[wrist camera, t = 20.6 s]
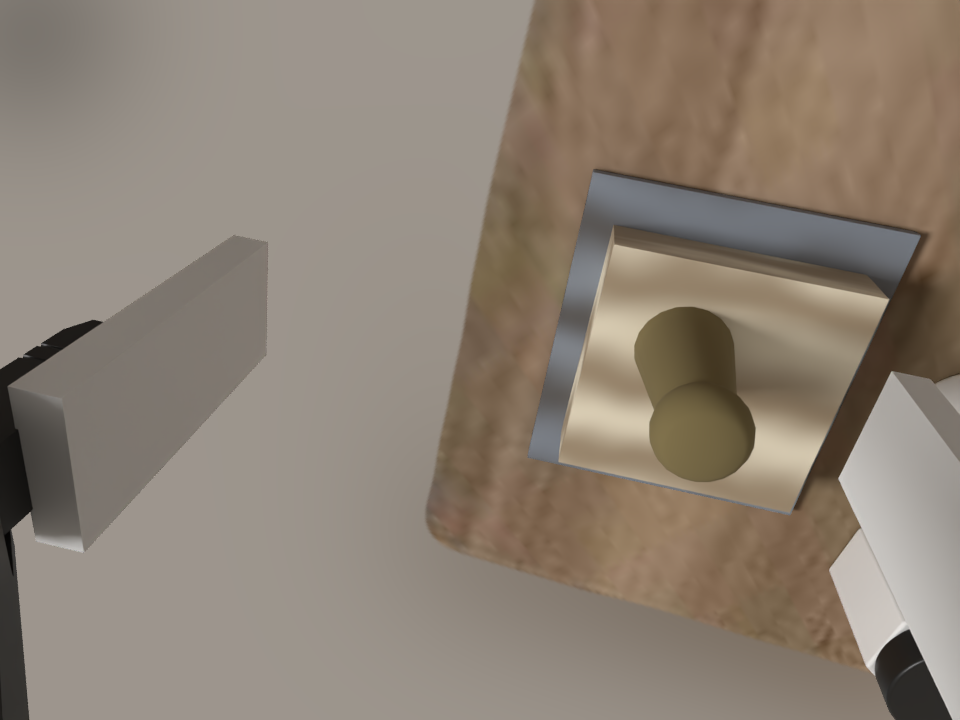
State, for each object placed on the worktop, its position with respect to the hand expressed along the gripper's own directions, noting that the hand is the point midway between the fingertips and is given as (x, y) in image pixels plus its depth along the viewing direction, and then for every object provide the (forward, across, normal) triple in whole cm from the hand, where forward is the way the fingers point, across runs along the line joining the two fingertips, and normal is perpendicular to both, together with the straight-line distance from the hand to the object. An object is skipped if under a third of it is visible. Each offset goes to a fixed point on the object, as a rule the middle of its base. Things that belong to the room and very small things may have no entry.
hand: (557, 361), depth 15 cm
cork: (+28, +9, -12) cm, 32 cm away
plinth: (+33, +11, -14) cm, 37 cm away
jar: (+33, +30, -28) cm, 53 cm away
